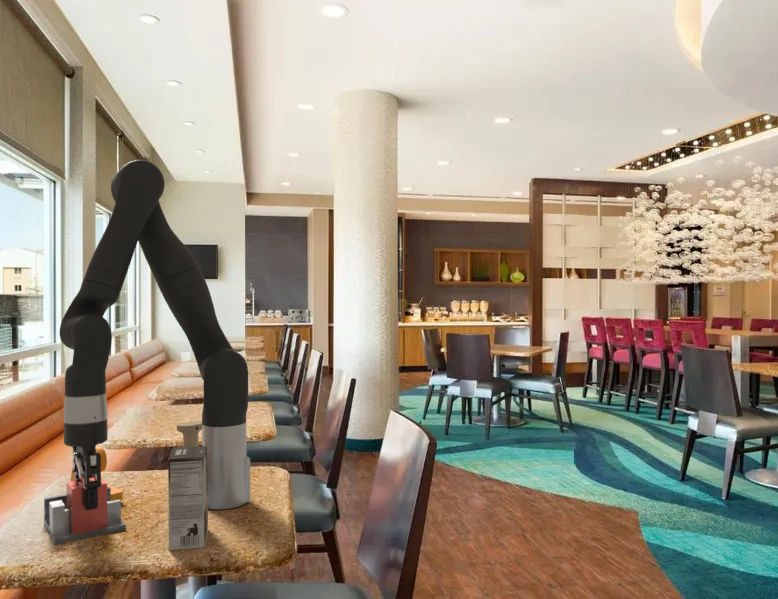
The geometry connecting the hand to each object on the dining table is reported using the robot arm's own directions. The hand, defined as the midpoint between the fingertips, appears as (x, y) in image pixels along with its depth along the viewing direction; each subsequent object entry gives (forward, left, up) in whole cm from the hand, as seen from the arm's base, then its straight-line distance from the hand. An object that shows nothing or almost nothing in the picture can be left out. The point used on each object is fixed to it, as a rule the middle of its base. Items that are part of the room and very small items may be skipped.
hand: (86, 503), depth 118 cm
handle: (-25, -15, -5) cm, 30 cm away
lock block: (0, 0, -4) cm, 4 cm away
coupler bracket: (0, -3, -5) cm, 6 cm away
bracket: (-5, -17, -5) cm, 19 cm away
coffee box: (-14, +17, -5) cm, 23 cm away
